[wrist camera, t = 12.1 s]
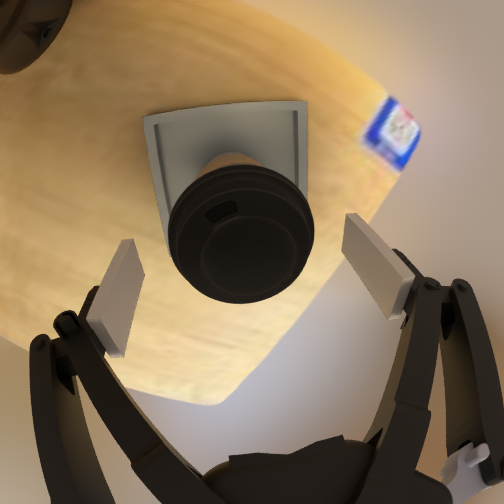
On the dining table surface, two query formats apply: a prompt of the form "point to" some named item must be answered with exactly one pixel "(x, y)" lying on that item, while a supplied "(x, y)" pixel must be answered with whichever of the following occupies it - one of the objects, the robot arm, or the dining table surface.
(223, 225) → the coffee cup
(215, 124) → the tray
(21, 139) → the dining table surface
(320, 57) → the dining table surface
